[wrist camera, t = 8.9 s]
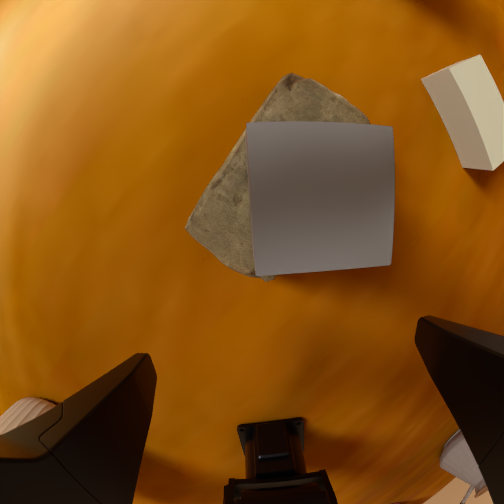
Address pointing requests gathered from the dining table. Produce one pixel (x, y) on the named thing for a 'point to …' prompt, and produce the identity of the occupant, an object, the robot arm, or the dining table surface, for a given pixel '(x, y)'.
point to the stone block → (236, 178)
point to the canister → (23, 412)
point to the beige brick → (470, 111)
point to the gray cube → (320, 195)
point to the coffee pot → (462, 464)
